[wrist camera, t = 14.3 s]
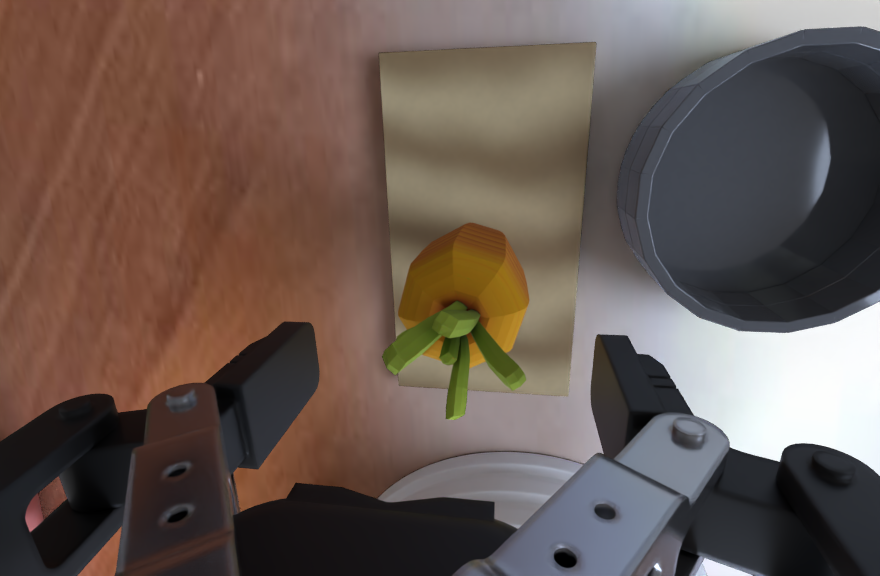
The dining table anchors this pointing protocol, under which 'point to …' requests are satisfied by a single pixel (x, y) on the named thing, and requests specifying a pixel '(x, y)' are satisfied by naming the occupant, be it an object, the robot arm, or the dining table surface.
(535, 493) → the plate stack
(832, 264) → the pan
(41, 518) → the cell model
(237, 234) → the dining table surface
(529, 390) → the board
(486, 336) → the carrot
